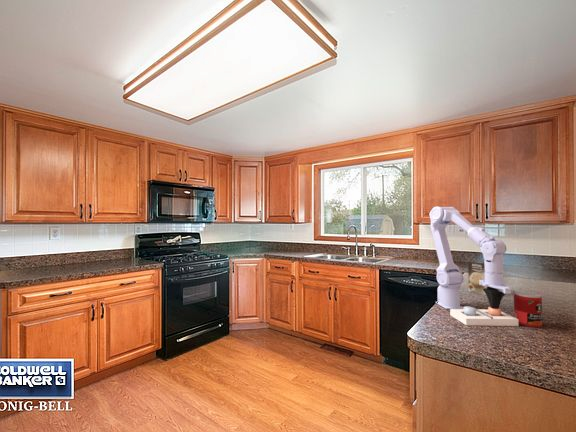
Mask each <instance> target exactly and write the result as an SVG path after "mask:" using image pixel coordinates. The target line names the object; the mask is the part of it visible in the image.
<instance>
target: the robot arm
mask: <svg viewBox="0 0 576 432" xmlns="http://www.w3.org/2000/svg"><path fill="white" fill-rule="evenodd" d="M428 214H429V218H430V230H431V234H432V235H431V236H432V239H433V243H434V246H435V251H436V254H437V259H438V262H439V263H438V264H439V266H438V267H437V268H436V281H437V283H438V284H439V285H438V287H437V290H436V291H437V301H435V304H437V305H439V306H440V307H442V308H444V309H446V310H450V309H464V307H465V306H462V305H461V291H460V290H461V288H460V287H462V286H461V285H462V284H463V283H464V281H465V279H464V278H465V277H464V275H463V273H462V271H461V270H460V267H459V266H458V265H457V264H455V263H454V259H453V254H452V251H451V247H450V243H449V240H448V236H447V232H446V227H447V226H448V225H450V224H451V223H452V222H453V223H454V224H455V225H456V226H458V227H459V228H460V229H462V230H463V231H465V232H466V233H467V237H468V239H470V240H471V241H472V242H473V243H475V244H476V245H477V246H478V247H479V248H480V252H481V253H482V255H483V259H484V261H483V262H484V265H485V280H479V285H483V286H487V288H484V289H483V290H484V292H485V294H486V295H485V296H486V298H487V300H488V303H489V307H491V308H493V309H499V308H500V304H501V302H502V300H503V298H504V296H505V295H511V294H512V288H511V287H508V286H507V285H505V284H504V254H506V251H507V245H506V244H505V242H504V241H503V240H502V239H496V238H495V236H493V235H491V234H489V233H488V232H487V231H485V229H486V228H484V227H481V226H475V225H473V224H472V223H471V222H470V221H469V220H468V219H466V217H464V216H463V215H462V214H461V213H460V211H459V210H458V209H456V208H455V207H454V206H434V207H432V209H431V210H430V212H429V213H428ZM438 301H439V302H438ZM437 302H438V303H437Z"/></svg>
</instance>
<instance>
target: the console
mask: <svg viewBox="0 0 576 432" xmlns="http://www.w3.org/2000/svg"><path fill="white" fill-rule="evenodd" d="M449 311H450V312H449V315H450V316H451V317H452V318H454V319H456V320H457V321H459V322H460V323H463V324H464V325H465V326H479V327H481V326H483V327H485V326H487V327H488V326H492V327H494V326H495V327H497V326H498V327H519V325H520V324H518V319H517V318H515V317H514V316H512V315H510V314H508V313H505V312H504V311H501V316H491V315H489V314H488V308H487V309H483V308H482V309H479V308H478V309H477V308H476V316H466V315H465V314H464V309H449Z"/></svg>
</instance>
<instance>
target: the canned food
mask: <svg viewBox="0 0 576 432" xmlns="http://www.w3.org/2000/svg"><path fill="white" fill-rule="evenodd" d="M542 297H543V296H542V294H540V293H537V292H534V291H533V292H532V291H526V290H515V291H513V317H515V318H517V319H518V324H519V325H522V326H525V327H531V328H540V327H542V325H543V298H542Z"/></svg>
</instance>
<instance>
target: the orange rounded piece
mask: <svg viewBox="0 0 576 432" xmlns="http://www.w3.org/2000/svg"><path fill="white" fill-rule="evenodd" d="M487 309H488V314H489V315H491V316H501V312H502V308H500V307H499V309H493V308H491V307H490V306H488V307H487Z"/></svg>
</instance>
